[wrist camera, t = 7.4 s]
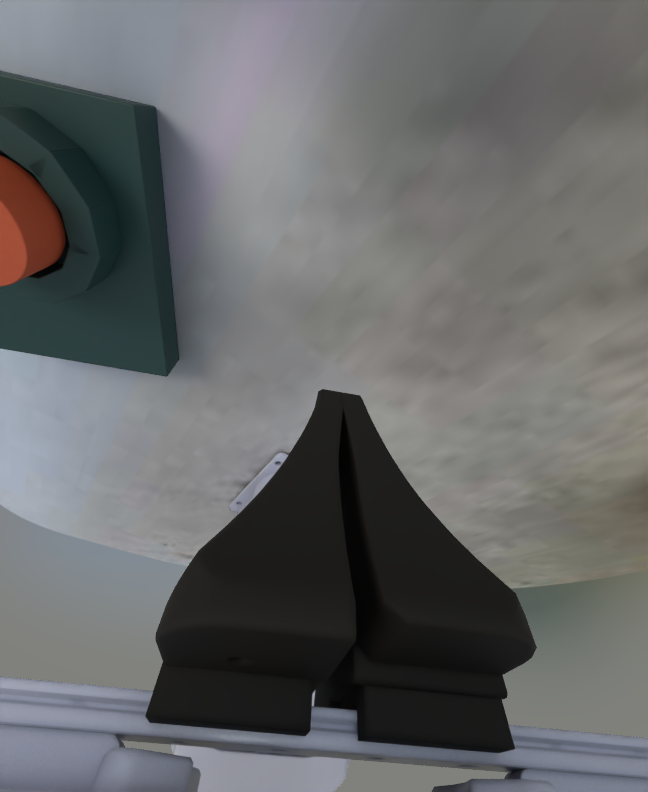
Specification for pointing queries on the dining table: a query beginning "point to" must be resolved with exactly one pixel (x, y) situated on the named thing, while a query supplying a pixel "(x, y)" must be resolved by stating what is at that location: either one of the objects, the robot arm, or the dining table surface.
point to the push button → (26, 225)
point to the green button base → (92, 229)
